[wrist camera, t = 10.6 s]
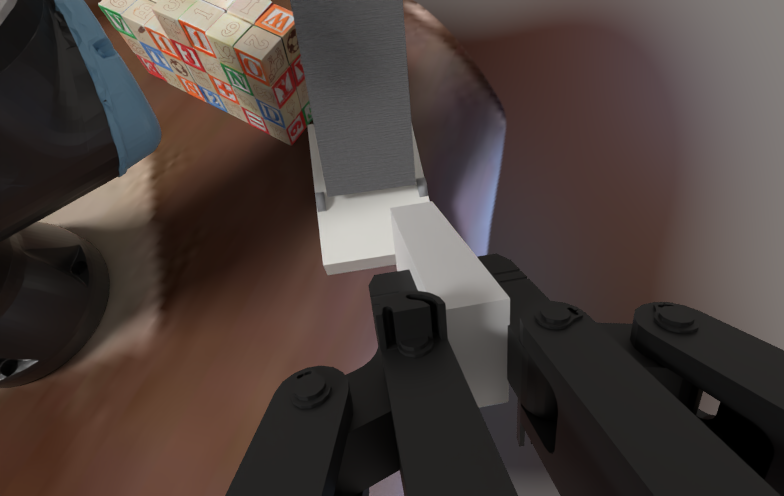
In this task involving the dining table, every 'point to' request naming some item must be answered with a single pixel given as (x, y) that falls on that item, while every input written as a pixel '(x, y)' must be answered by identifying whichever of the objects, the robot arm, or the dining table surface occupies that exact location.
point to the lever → (357, 91)
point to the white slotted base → (360, 218)
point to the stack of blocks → (223, 56)
